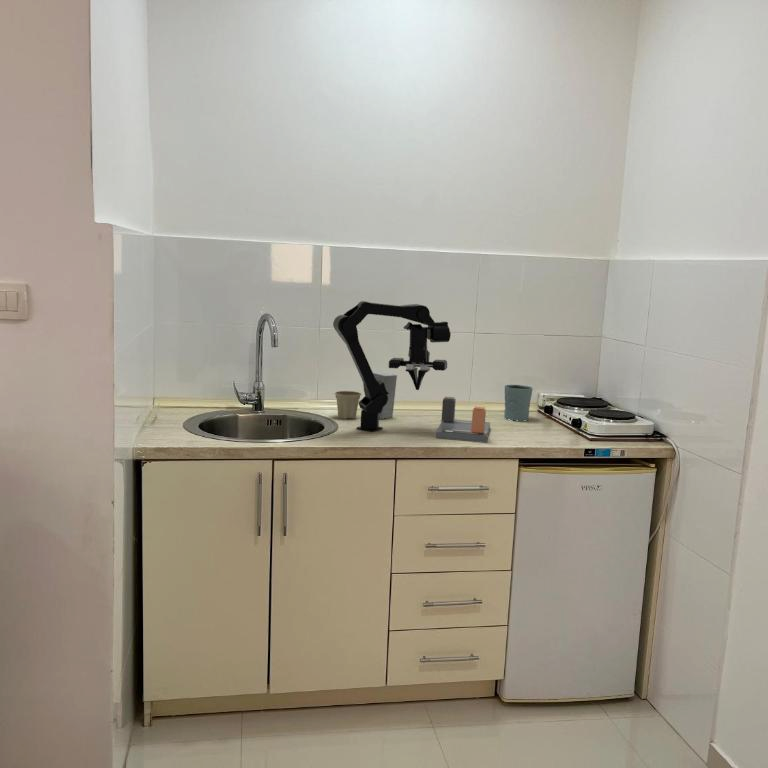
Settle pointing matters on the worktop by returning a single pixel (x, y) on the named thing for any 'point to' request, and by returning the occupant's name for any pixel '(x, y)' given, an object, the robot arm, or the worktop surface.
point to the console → (461, 431)
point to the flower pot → (347, 403)
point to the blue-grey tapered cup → (517, 402)
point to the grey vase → (390, 387)
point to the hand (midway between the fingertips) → (417, 389)
